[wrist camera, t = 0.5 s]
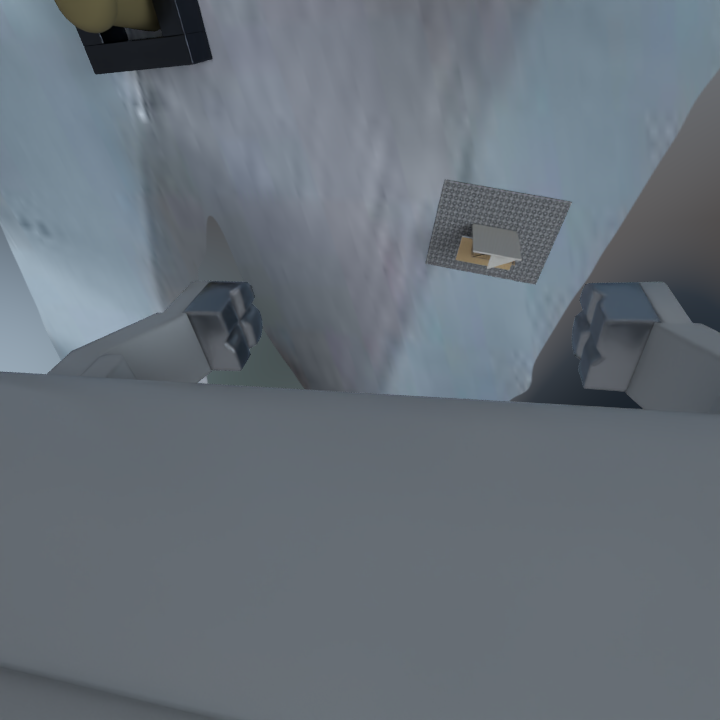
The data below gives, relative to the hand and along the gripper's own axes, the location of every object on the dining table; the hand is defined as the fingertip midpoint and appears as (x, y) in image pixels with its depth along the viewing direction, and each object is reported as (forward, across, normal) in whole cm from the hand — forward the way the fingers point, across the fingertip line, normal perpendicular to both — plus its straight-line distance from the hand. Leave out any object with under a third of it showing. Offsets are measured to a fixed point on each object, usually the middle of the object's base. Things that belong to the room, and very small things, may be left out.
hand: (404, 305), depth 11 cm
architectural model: (+45, -6, +19) cm, 49 cm away
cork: (+45, +32, -9) cm, 56 cm away
